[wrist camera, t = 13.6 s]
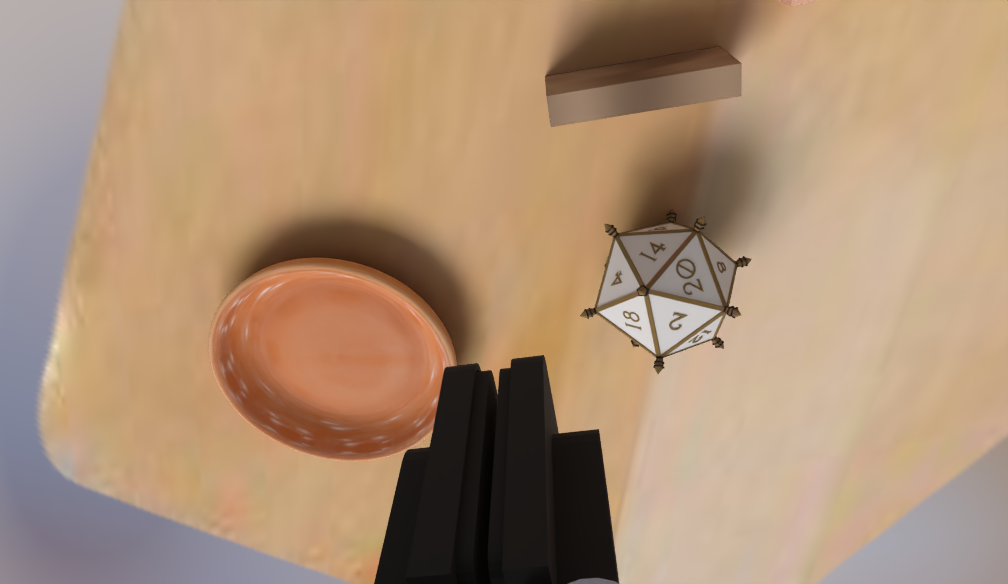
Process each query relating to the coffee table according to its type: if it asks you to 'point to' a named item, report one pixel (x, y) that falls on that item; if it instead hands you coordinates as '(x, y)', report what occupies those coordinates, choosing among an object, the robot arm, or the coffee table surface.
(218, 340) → the saucer
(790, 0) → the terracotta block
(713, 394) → the coffee table surface
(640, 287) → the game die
